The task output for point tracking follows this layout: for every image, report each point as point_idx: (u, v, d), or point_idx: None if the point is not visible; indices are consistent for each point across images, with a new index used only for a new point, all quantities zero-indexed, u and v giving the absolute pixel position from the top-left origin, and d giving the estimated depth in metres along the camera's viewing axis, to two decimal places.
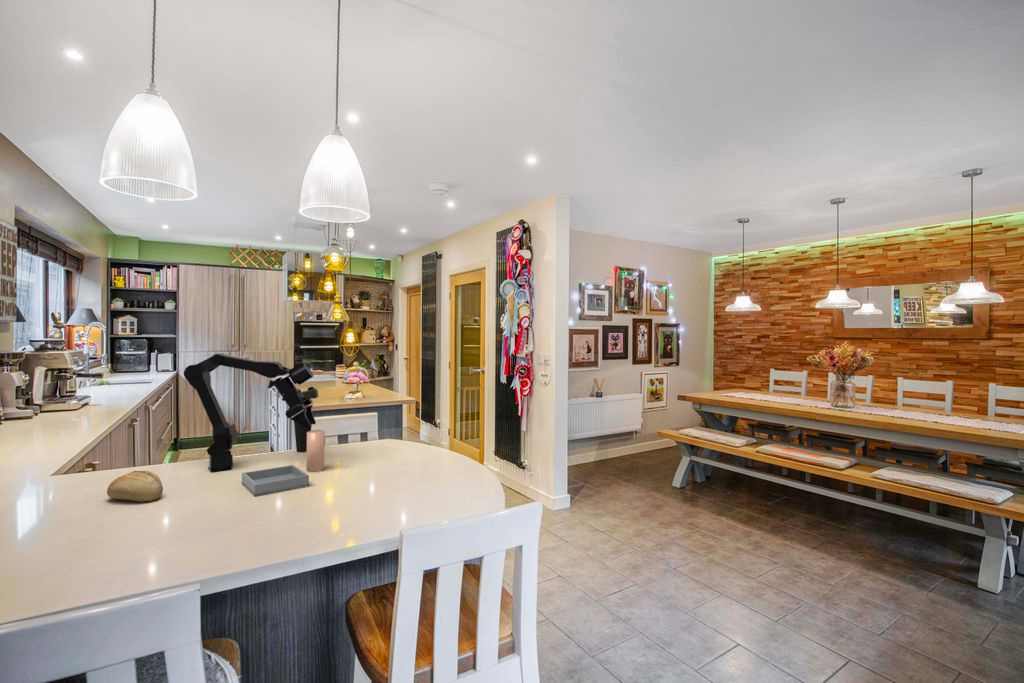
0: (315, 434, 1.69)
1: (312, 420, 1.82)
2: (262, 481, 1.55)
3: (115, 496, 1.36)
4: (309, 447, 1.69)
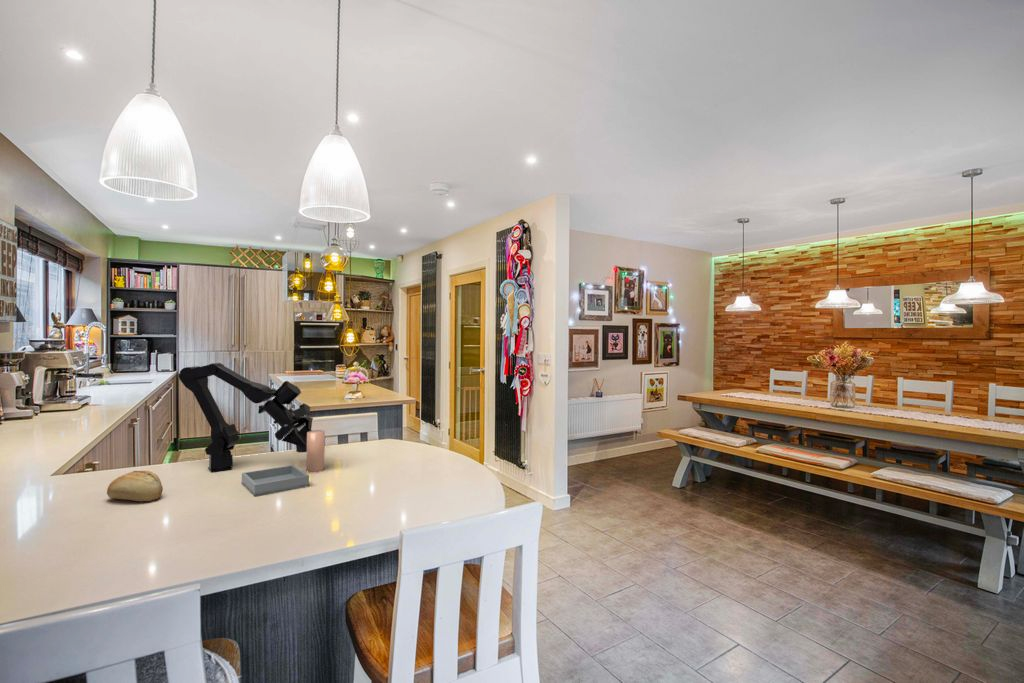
0: (315, 434, 1.69)
1: None
2: (262, 481, 1.55)
3: (115, 496, 1.35)
4: (309, 447, 1.69)
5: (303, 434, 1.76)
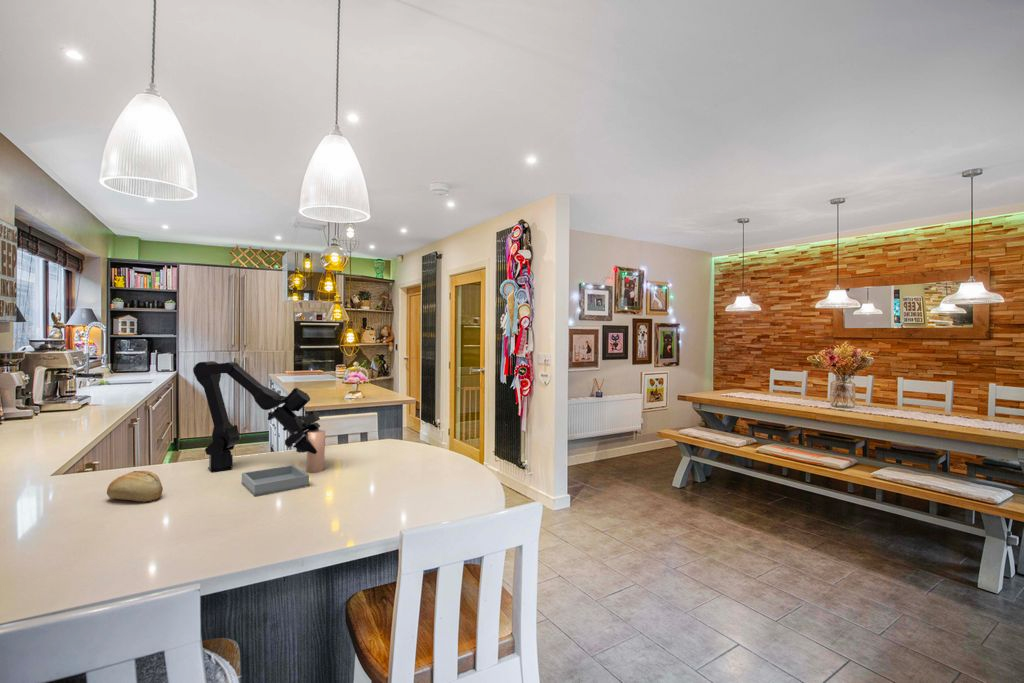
0: (315, 434, 1.69)
1: None
2: (262, 481, 1.55)
3: (115, 496, 1.35)
4: None
5: None
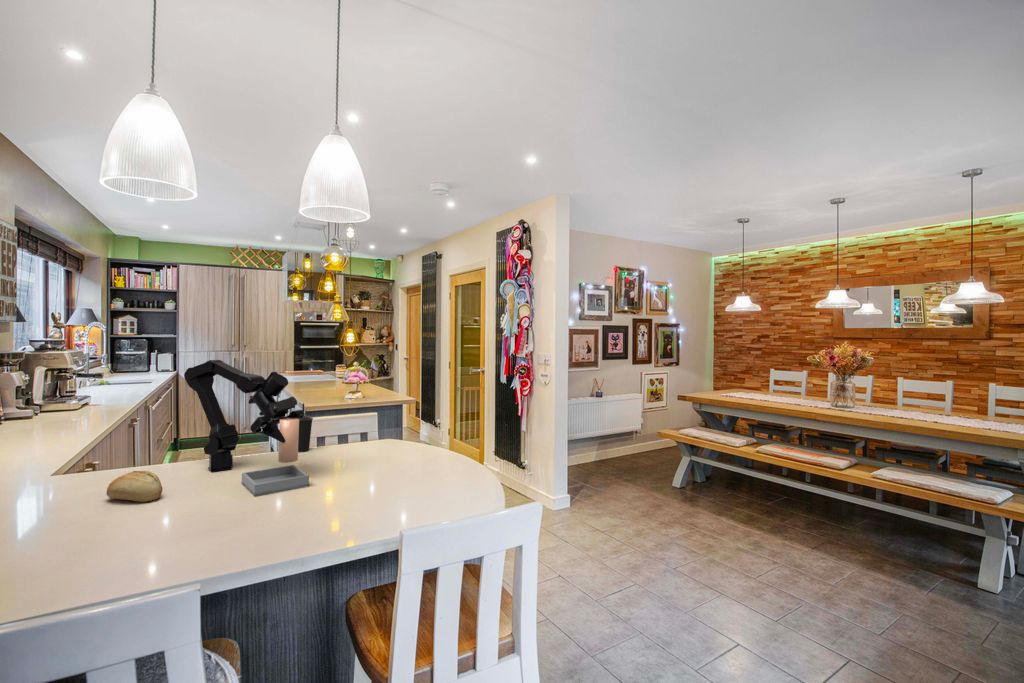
0: (284, 421, 1.58)
1: None
2: (262, 481, 1.55)
3: (114, 496, 1.35)
4: None
5: None
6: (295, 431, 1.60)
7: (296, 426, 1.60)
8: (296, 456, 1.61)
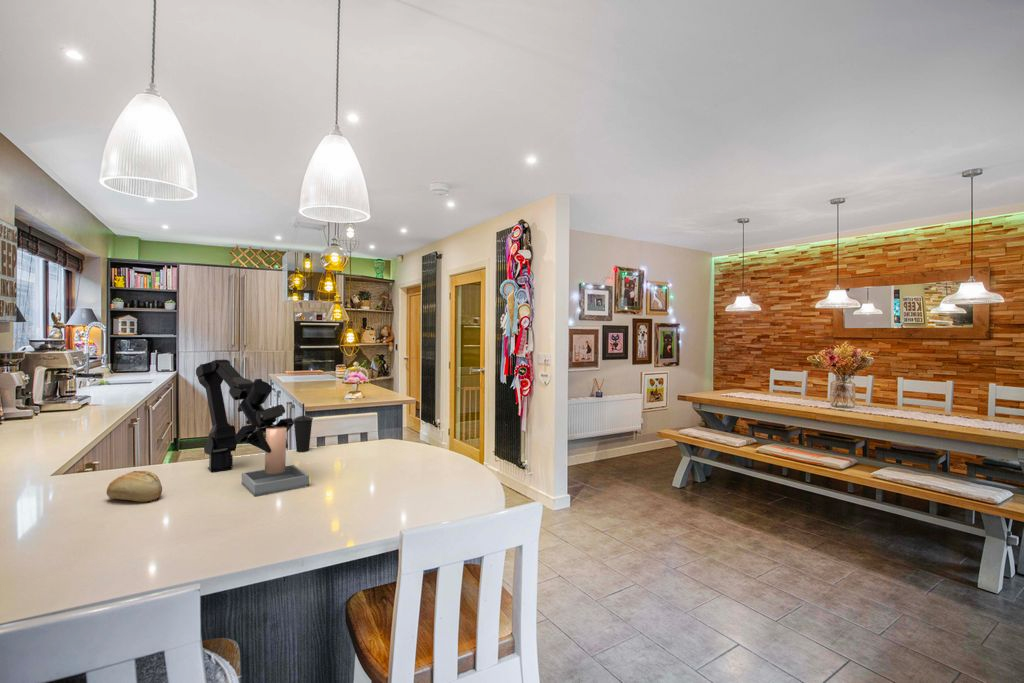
0: (270, 431, 1.51)
1: None
2: (262, 481, 1.55)
3: (114, 496, 1.35)
4: None
5: None
6: (282, 441, 1.53)
7: (283, 435, 1.53)
8: (283, 467, 1.54)
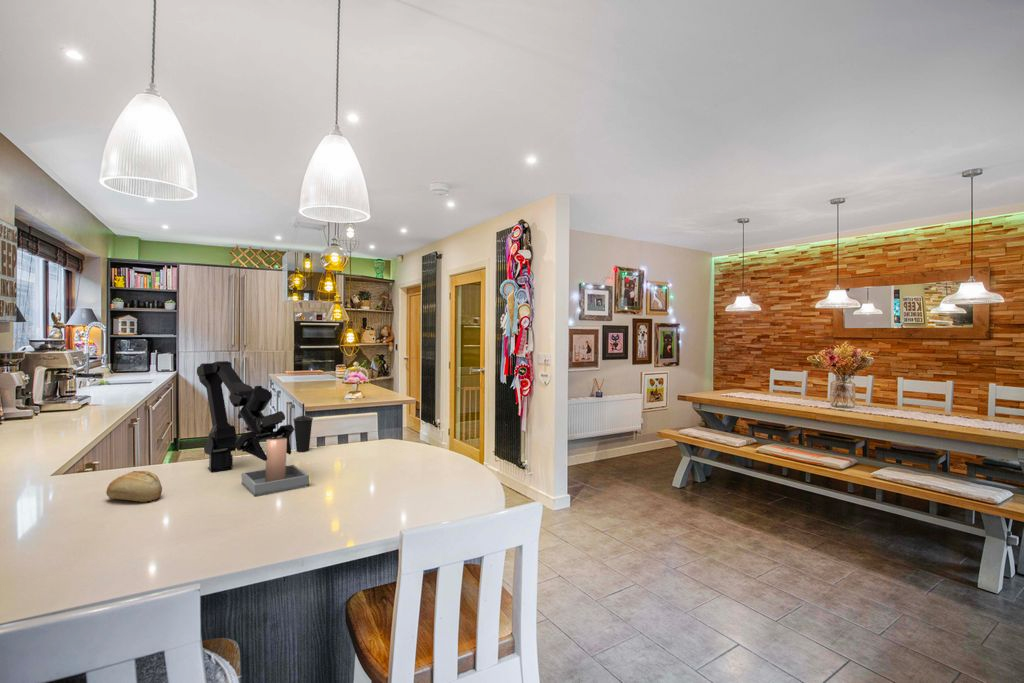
0: (271, 442, 1.52)
1: (287, 449, 1.58)
2: (262, 481, 1.55)
3: (114, 496, 1.35)
4: None
5: None
6: (282, 451, 1.53)
7: (283, 446, 1.54)
8: (283, 478, 1.54)
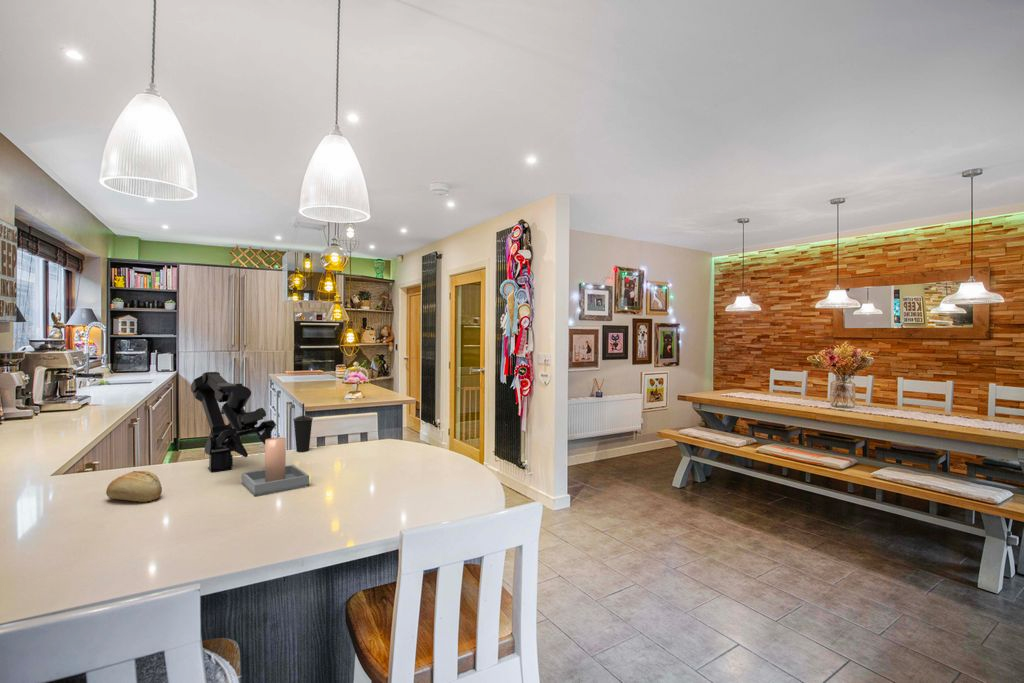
0: (270, 442, 1.52)
1: None
2: (262, 481, 1.55)
3: (114, 496, 1.35)
4: (265, 456, 1.53)
5: (263, 439, 1.64)
6: (281, 451, 1.53)
7: (282, 446, 1.54)
8: (283, 477, 1.54)
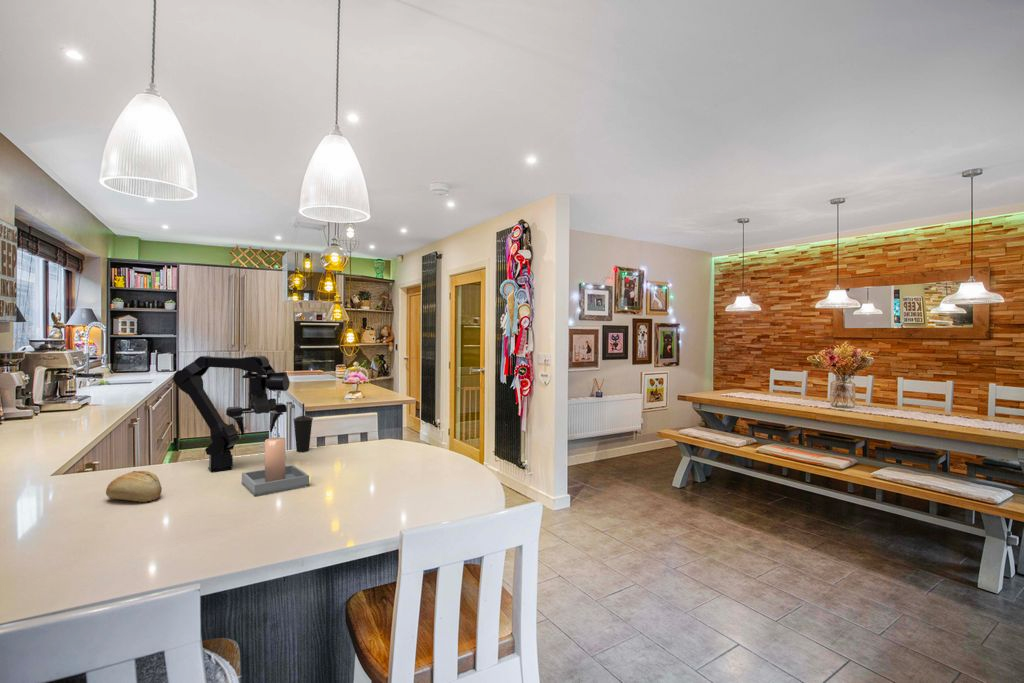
0: (270, 443, 1.51)
1: (270, 427, 1.74)
2: (262, 481, 1.55)
3: (114, 496, 1.35)
4: (265, 456, 1.52)
5: (270, 418, 1.76)
6: (281, 452, 1.53)
7: (282, 447, 1.53)
8: (283, 478, 1.54)
